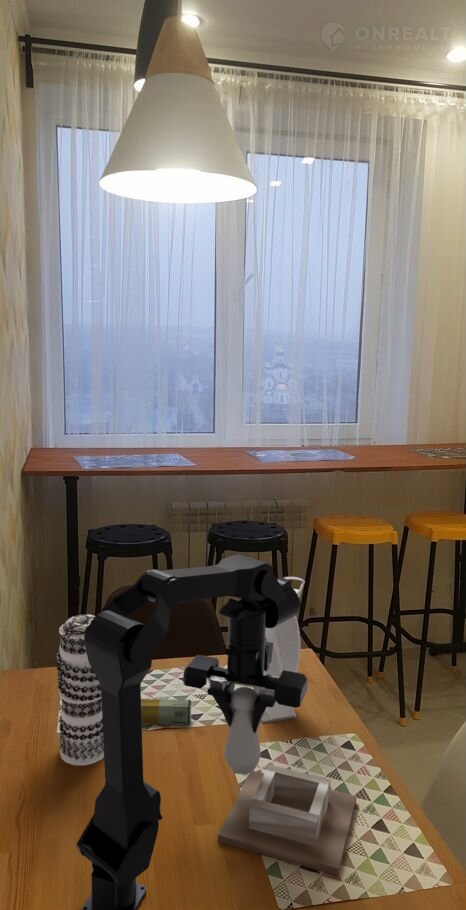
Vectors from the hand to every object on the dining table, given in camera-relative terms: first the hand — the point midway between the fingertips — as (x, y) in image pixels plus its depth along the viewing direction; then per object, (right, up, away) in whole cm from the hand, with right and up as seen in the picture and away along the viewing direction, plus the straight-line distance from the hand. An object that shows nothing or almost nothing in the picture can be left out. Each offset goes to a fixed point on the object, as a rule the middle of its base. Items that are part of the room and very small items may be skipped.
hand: (243, 729), depth 107 cm
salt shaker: (0, -7, +1) cm, 7 cm away
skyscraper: (+7, -8, +29) cm, 31 cm away
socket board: (+7, -14, -1) cm, 16 cm away
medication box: (-16, -9, +25) cm, 31 cm away
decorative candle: (-28, -10, +15) cm, 33 cm away
